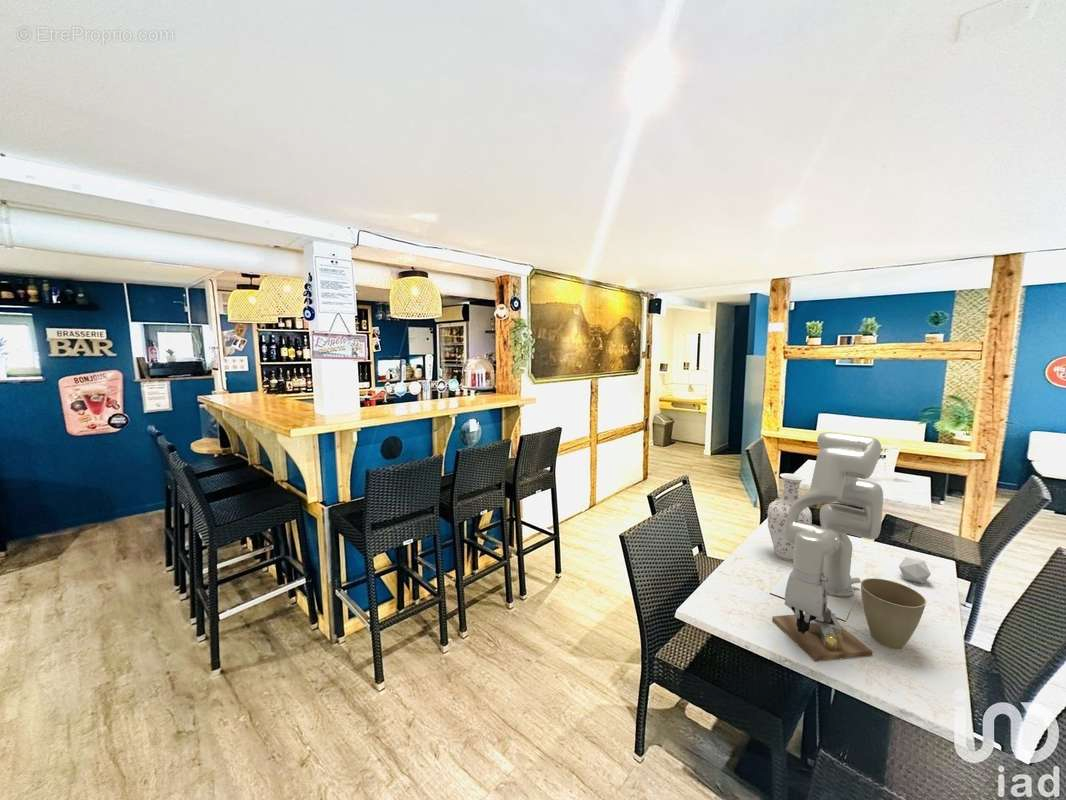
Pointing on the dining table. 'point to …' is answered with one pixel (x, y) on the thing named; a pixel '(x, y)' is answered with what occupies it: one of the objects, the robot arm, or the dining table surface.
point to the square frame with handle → (827, 632)
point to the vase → (785, 516)
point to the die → (914, 570)
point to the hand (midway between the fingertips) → (802, 630)
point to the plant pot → (891, 611)
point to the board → (813, 643)
